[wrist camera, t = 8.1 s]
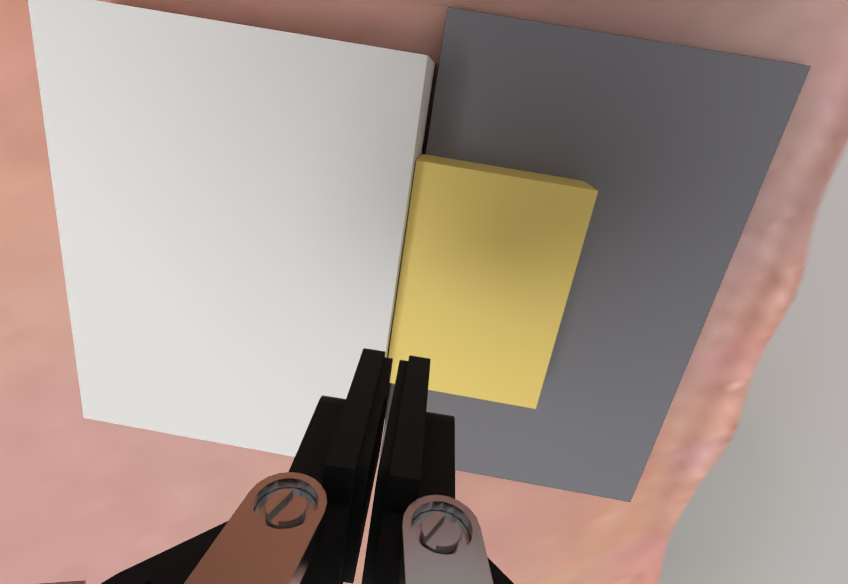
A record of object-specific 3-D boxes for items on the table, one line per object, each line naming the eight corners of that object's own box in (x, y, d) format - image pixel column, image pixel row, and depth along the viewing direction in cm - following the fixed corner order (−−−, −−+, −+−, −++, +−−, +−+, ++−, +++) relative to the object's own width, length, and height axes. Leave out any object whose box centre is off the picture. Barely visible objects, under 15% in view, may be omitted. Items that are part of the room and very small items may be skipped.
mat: (448, 9, 19) (447, 7, 19) (800, 67, 19) (810, 66, 18) (381, 448, 28) (380, 456, 27) (626, 493, 27) (630, 502, 27)
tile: (421, 153, 21) (416, 160, 19) (583, 181, 21) (598, 191, 18) (392, 355, 25) (384, 382, 22) (529, 379, 24) (535, 409, 22)
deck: (106, 9, 20) (26, -12, 17) (435, 63, 20) (427, 55, 16) (136, 374, 27) (83, 417, 23) (382, 419, 27) (368, 470, 23)
